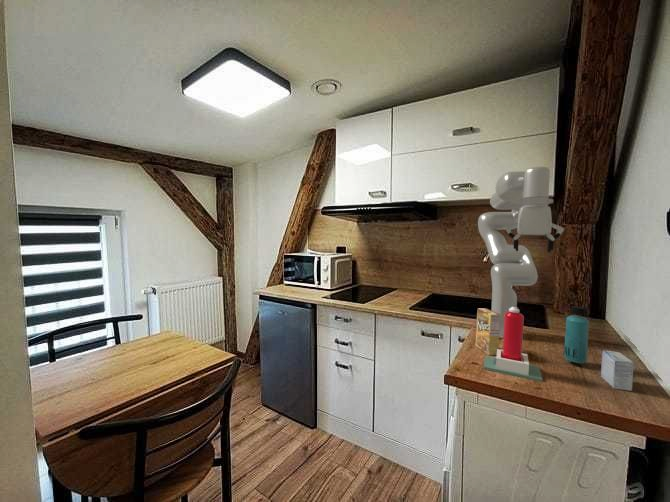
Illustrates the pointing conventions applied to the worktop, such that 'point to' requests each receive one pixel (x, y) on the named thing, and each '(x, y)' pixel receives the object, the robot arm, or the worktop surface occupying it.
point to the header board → (513, 366)
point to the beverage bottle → (576, 336)
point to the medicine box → (617, 370)
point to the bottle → (513, 334)
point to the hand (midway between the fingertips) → (532, 251)
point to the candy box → (487, 331)
